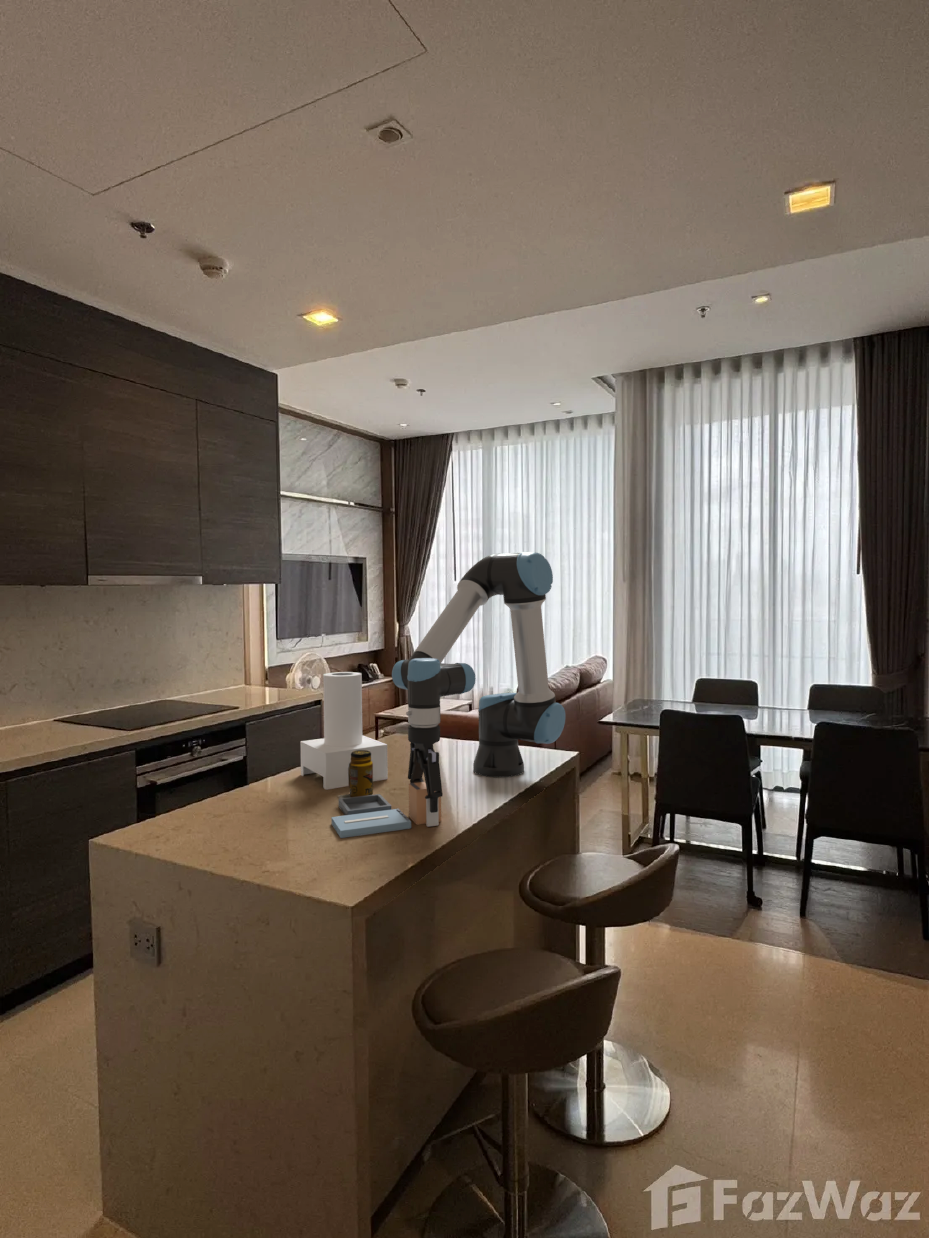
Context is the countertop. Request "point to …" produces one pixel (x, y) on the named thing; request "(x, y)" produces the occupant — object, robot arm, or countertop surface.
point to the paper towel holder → (341, 734)
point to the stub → (419, 802)
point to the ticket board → (370, 823)
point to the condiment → (360, 774)
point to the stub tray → (363, 804)
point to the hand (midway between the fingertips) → (424, 818)
